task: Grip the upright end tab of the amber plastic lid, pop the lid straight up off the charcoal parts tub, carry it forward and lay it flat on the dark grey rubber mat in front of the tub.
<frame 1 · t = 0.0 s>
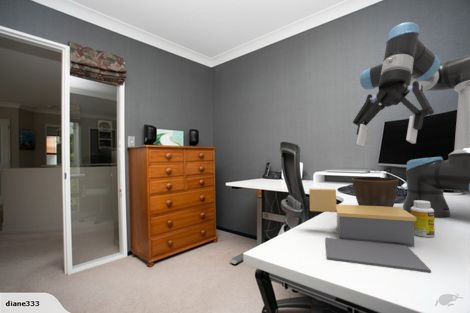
hand: (383, 143, 62), 28 cm above the table, tool tilted 20°, fingers open, 13 cm apart
supplement bottle: (422, 235, 69), on the table
charcoal tub: (370, 236, 68), on the table
plant pot: (375, 221, 84), on the table
grey rubber mat: (368, 253, 56), on the table
amber lid: (370, 218, 69), point 5 cm above the table, touching charcoal tub
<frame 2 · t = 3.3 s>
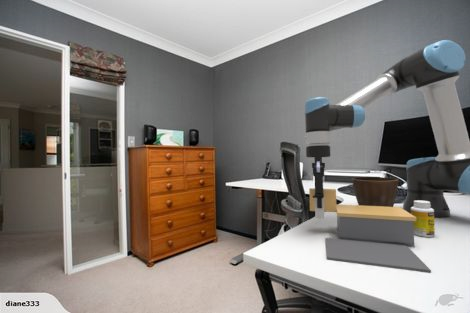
hand: (319, 216, 74), 5 cm above the table, tool pointing down, fingers closed on amber lid, 3 cm apart
amber lid: (370, 218, 69), point 5 cm above the table, touching charcoal tub, gripper
everything else where it was.
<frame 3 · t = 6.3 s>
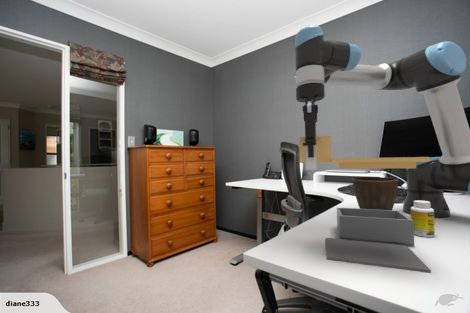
hand: (311, 169, 62), 21 cm above the table, tool pointing down, fingers closed on amber lid, 3 cm apart
amber lid: (371, 167, 57), point 22 cm above the table, touching gripper
everything else where it was.
when the fingers open (2 cm above the table, at t = 9.2 s): amber lid drops 2 cm, resting on grey rubber mat.
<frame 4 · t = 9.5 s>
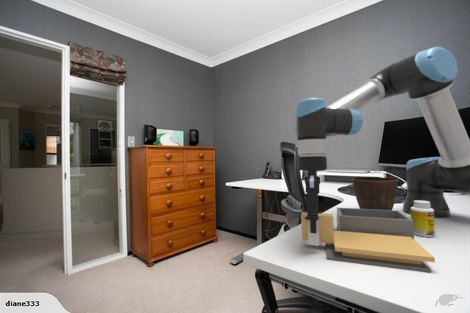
hand: (314, 239, 61), 2 cm above the table, tool pointing down, fingers open, 7 cm apart
amber lid: (375, 251, 56), resting on grey rubber mat
everything else where it was.
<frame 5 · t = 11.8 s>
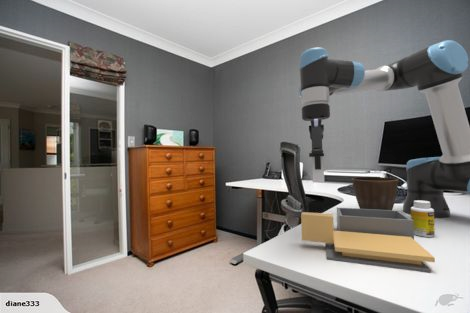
hand: (318, 179, 64), 18 cm above the table, tool pointing down, fingers open, 13 cm apart
nothing on the table moved.
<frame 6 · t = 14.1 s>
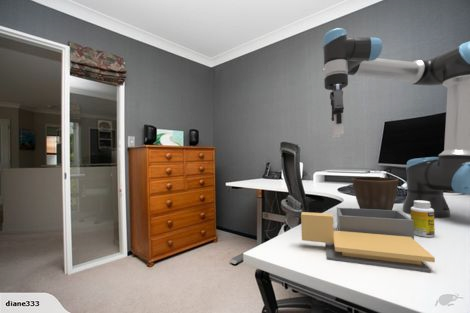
hand: (337, 136, 78), 32 cm above the table, tool pointing down, fingers open, 13 cm apart
nothing on the table moved.
at the end: amber lid touching grey rubber mat; amber lid inside the target area (0.1 cm from its centre), point 0.5 cm above the table; amber lid tilted 0° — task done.
